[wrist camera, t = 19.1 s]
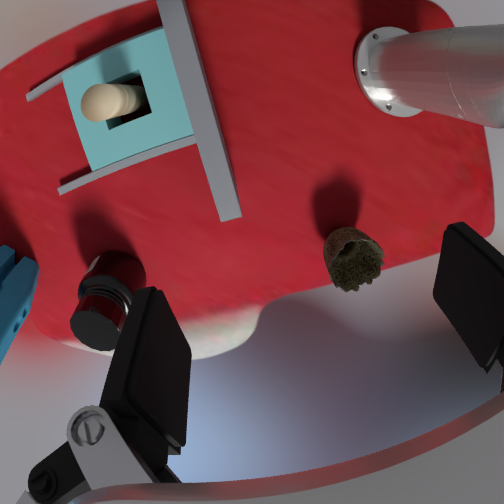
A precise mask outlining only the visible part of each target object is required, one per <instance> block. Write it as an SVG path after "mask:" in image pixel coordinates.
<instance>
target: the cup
mask: <svg viewBox="0 0 504 504" xmlns="http://www.w3.org/2000/svg"><path fill="white" fill-rule="evenodd" d="M382 251H383V250H382V248H381V247H380V246H379V245H378V243H377V242H375V241H374V240H373V239H371V238H370V237H369V236H367V235H366V234H365V233H363V232H362V231H360V230H358V229H356V228H353V227H342V228H341V227H338V228H335V229H333V230H331V231H330V232H329V234H328V236H327V240H326V241H325V244H324V249H323V254H324V260H325V263H326V267H327V270H328V272H329V275H330V279H331V281H332V282H334V284H335V286H336V287H340V288H341V289H342V290H343V291H345V292H348V291H350V290H353V291H358V290H359V286H358V285H362V284H363V283H365V282H366V283H367V284H368V285H369V284H372V279H375V278H377V277H378V276H380V272H381V269H380V266H381V267H382V266H383V265H384V262H383V261H382V259H381V258H384V257H385V255H384V253H383V252H382Z"/></svg>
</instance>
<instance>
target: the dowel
mask: <svg viewBox="0 0 504 504" xmlns="http://www.w3.org/2000/svg"><path fill="white" fill-rule="evenodd" d="M148 102H149V101H148V97H147V94H146V91H145V88H144V87H142V86H136V85H121V84H95V85H93V86H91V87H89V88H88V89H87V90H86V91H85V93H84V94H83V96H82V99H81V111H82V114H83V115H84V117H85V118H86V119H88V120H90V121H93V122H99V121H103V120H107V119H110V118H114V117H117V116H121V115H125V114H129V113H133V112H137V111H140V110H142V109H144V108H145V107H146V106H147V104H148Z"/></svg>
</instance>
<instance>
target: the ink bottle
mask: <svg viewBox="0 0 504 504" xmlns="http://www.w3.org/2000/svg"><path fill="white" fill-rule="evenodd" d="M145 287H146V276H145V272H144V270H143V268H142V266H141V265H140V263H139V262H138V261H137V260H136V259H135V258H133V257H132V256H130V255H128V254H126V253H123V252H119V251H107V252H104V253H101V254H100V255H98V256H97V257H96V258H95V259H94V260H93V262H92V263H91V265H90V267H89V268H88V270H87V271H86V273H85V275H84V276H83V278H82V280H81V282H80V284H79V288H78V299H79V303H78V305H77V307H76V309H75V311H74V313H73V315H72V317H71V319H70V325H71V330H72V331H73V333H74V335H75V337H77V338H78V339H79V340H80V341H81V343H83V344H85V345H87V346H88V347H90V348H92V349H96V350H99V351H111V350H113V349H115V348H116V345H117V342H118V339H119V337H120V334H121V331H122V328H123V325H124V322H125V319H126V316H127V313H128V310H129V308H130V305H131V302H132V299H133V296H134V294H135V291H136V290H137V289H141V288H145Z"/></svg>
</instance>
